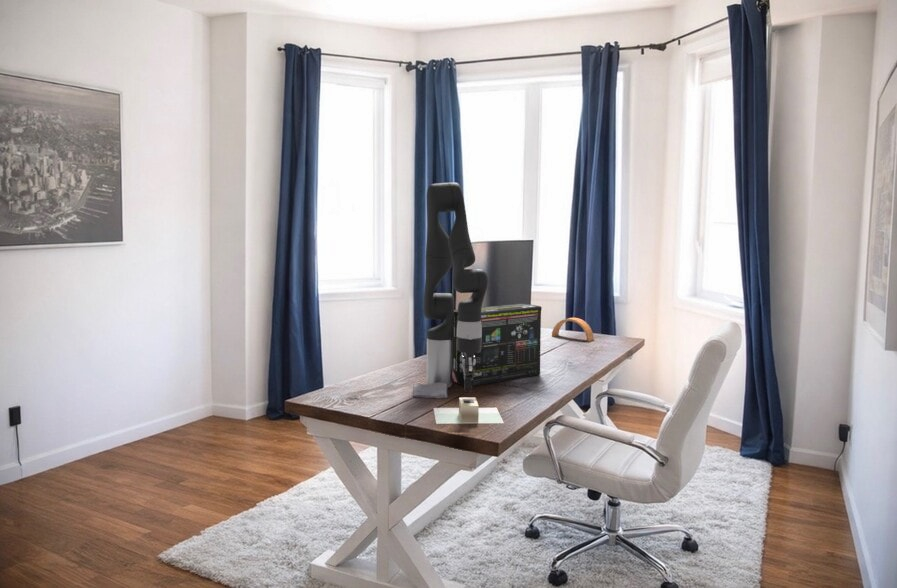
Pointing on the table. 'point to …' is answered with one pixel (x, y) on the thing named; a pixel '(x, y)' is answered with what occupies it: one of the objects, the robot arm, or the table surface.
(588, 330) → the arch
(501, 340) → the router box
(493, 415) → the board
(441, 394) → the stone block
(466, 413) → the birch block
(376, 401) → the table surface
